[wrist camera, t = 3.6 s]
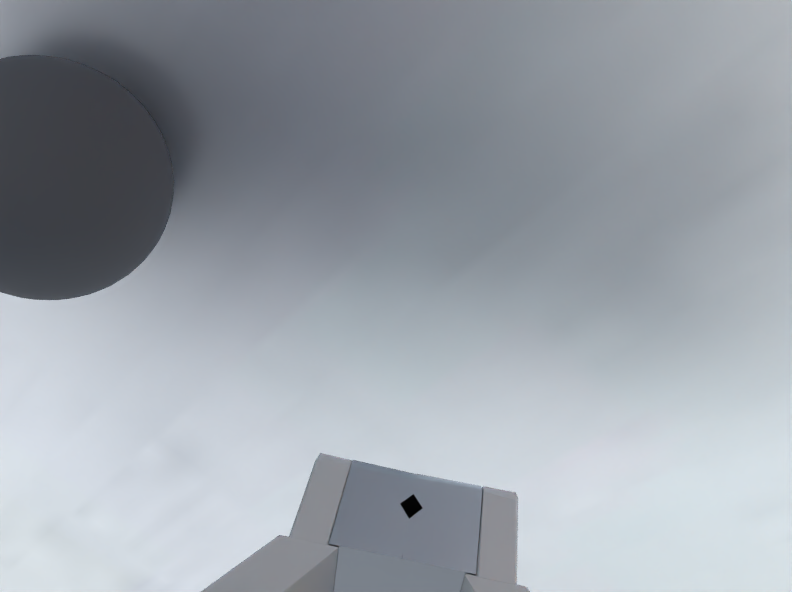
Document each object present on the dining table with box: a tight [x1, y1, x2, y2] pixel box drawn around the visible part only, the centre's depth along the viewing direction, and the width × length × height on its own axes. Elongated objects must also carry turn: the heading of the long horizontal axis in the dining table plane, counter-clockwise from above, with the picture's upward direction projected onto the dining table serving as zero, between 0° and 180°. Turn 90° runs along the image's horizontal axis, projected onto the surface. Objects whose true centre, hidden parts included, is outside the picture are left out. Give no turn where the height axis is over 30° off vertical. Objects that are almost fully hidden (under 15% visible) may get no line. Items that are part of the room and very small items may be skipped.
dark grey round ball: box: [0, 55, 174, 300], centre depth 17 cm, size 6×6×6 cm
